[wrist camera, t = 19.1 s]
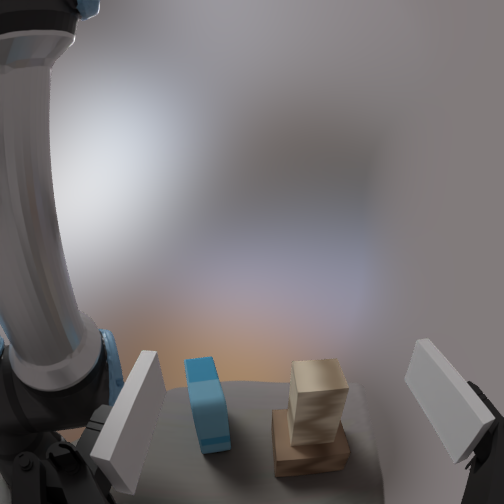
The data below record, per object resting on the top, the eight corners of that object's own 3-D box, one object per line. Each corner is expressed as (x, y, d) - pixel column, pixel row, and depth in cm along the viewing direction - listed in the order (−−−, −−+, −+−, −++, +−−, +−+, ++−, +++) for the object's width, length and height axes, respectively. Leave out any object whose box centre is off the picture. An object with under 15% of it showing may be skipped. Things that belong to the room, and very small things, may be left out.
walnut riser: (275, 477, 32) (276, 460, 30) (271, 429, 41) (272, 409, 40) (343, 469, 32) (350, 452, 30) (330, 424, 41) (335, 404, 40)
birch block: (290, 446, 33) (297, 392, 30) (287, 416, 38) (292, 361, 35) (333, 442, 33) (348, 387, 30) (326, 413, 38) (337, 358, 35)
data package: (232, 453, 36) (226, 403, 33) (202, 457, 35) (191, 408, 32) (217, 403, 47) (211, 352, 44) (192, 406, 46) (183, 355, 43)
